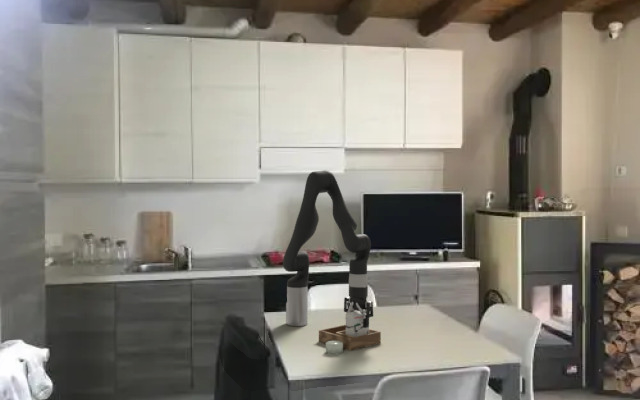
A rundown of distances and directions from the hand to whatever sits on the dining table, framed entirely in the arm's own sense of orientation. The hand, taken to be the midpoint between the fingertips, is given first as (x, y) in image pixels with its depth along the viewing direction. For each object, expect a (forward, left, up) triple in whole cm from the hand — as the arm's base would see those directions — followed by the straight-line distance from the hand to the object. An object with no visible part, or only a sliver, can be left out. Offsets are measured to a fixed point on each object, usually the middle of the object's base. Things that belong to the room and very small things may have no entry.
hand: (358, 325), depth 228 cm
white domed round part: (+3, -15, -7) cm, 17 cm away
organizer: (-3, -2, -7) cm, 8 cm away
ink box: (0, 0, -7) cm, 7 cm away
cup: (-37, +38, -7) cm, 54 cm away
